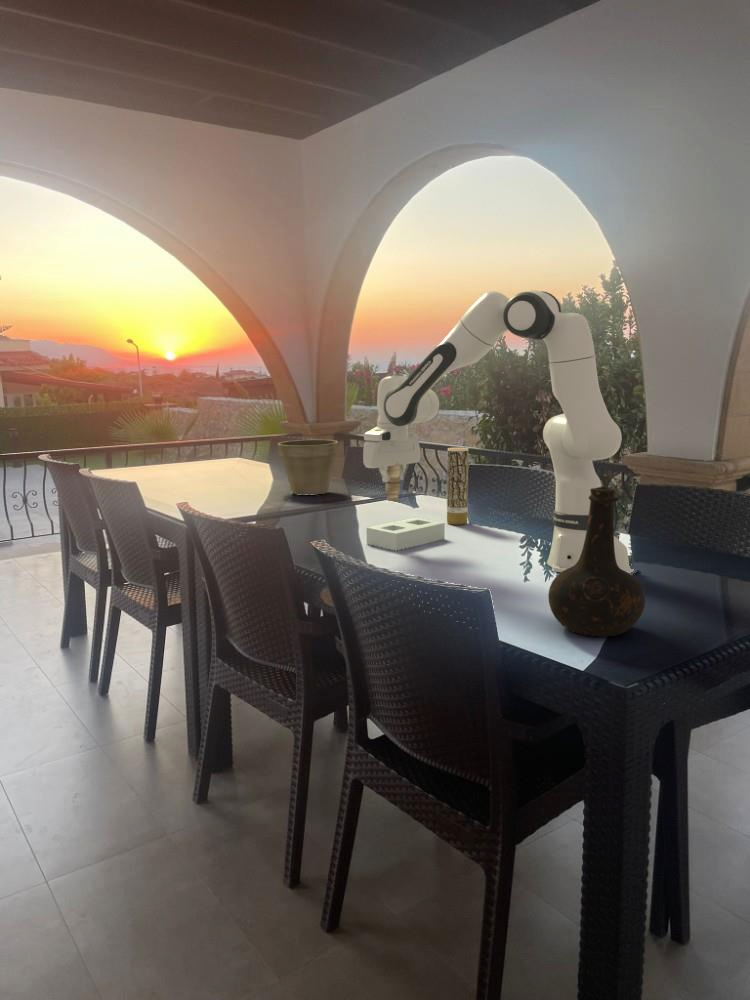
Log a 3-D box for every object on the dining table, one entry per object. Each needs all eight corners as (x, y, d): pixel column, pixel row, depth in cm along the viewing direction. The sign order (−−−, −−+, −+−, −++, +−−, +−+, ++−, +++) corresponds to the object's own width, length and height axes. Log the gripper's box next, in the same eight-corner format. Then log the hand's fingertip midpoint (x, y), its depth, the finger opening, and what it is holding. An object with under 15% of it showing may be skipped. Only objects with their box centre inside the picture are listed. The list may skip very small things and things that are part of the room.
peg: (402, 500, 211) (402, 458, 209) (392, 501, 208) (392, 460, 206) (392, 498, 214) (392, 457, 212) (382, 500, 211) (382, 458, 209)
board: (444, 539, 220) (444, 522, 219) (396, 551, 206) (395, 533, 205) (415, 533, 228) (415, 517, 228) (366, 544, 214) (366, 527, 213)
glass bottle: (541, 639, 137) (546, 492, 132) (553, 610, 153) (558, 479, 148) (642, 651, 131) (651, 498, 126) (644, 620, 147) (652, 483, 142)
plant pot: (271, 497, 295) (269, 444, 292) (288, 488, 319) (287, 438, 316) (331, 499, 291) (330, 444, 288) (344, 489, 315) (343, 439, 312)
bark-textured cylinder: (466, 525, 239) (467, 449, 234) (445, 525, 240) (446, 449, 236) (468, 521, 245) (469, 447, 241) (447, 521, 246) (448, 447, 242)
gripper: (409, 430, 217) (409, 476, 219) (359, 434, 203) (359, 483, 205) (425, 431, 212) (425, 478, 215) (375, 435, 198) (375, 485, 201)
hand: (392, 481), depth 210 cm, fingers closed on peg, 4 cm apart
